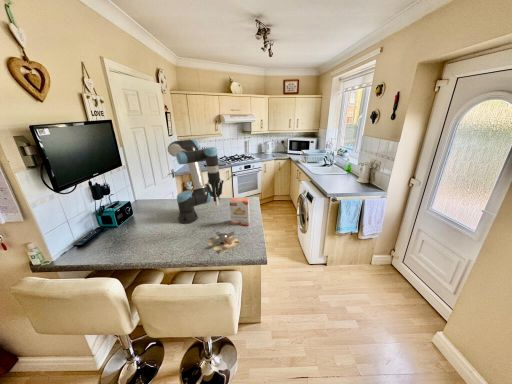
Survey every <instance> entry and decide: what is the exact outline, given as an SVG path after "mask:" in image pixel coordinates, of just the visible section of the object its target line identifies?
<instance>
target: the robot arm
mask: <svg viewBox="0 0 512 384" xmlns="http://www.w3.org/2000/svg"><path fill="white" fill-rule="evenodd" d="M167 152H168V153H169V155H170V156H172V157H175V158H176V162H177V164H178V165H186V164H187V165H188V167H189V168H188V169H189V172H190V176H191V180H192V185H193V189H192V191H191V190H184V191H182V192H179V193H178V194H177V195H176V201H177V206H178V212H179V213H178V217H177V218H178V222H179V223H180V224H182V225H185V224H186V225H187V224H191V223H194V222H196V221H197V220H198V219H199V218H198V217H199V216H198V213H197V212H196V210H195V207H196V206H197V207H198V206H201V205H204V204H208V203H210V202H211V201H212V198H213V201H214V205H215V206H216V207H218V206H220V200H221V199H220V197H221V195H222V193H223V184H224V183H225V181H224V180H222V179H221V177H220V172H219V171H220V168H219V159H218V158H219V157H218V151H217V148H216V147H215V146H210V147H209V146H208V147H205V148H201V147H200V145H199V142H198V141H197V140H196V139H193V138H192V139H183V140H182V139H181V140H175V141H172V142H171V143H169V144H168V146H167ZM201 162H205V164H206V165H205V166H206V172H207V178H208V180H207V183H205V182H204V181H205V180H204V178H203V174H202V169H201V166H200V163H201Z"/></svg>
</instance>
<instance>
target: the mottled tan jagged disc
mask: <svg viewBox="0 0 512 384" xmlns="http://www.w3.org/2000/svg"><path fill="white" fill-rule="evenodd" d="M225 233H226V234H229V233H230V232H225ZM218 238H220V237H219V236H217V237H215V238H212V239H210V240H209V241H208V240H207V241H206V244H208V245H209V246H210V248H212V249H213V250H214V251H215V252H216V253H217V254H219V255H222V254H224V253H225V252H227V251H229V250H231V249H233V248H235V247H238V245H241V244H242V242H241V241H240V240H239V239H237V238H236V237H235V236H234V235H233V236H231V237H229V238H228V239H229V240H230V241H231V242H232V244H231V245H229V244H221V243H220V242H219V243H216V244H214V245H213V244H212V241H213V240H216V239H218Z"/></svg>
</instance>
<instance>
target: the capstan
mask: <svg viewBox="0 0 512 384" xmlns="http://www.w3.org/2000/svg"><path fill="white" fill-rule="evenodd" d="M215 233H216V234H215V235H216V236H217V237H220V238H218V239H216V240H213V241H212V244H213V245H214V244H216V243H219V242H220V243H221V244H229V245H231V244H232V242H231V241H230V240H229V239H228V238H229V237H231V236H233V237H234V235H235V232H234V231H231V232H228V233H229V234H226V233H227V232H222V233H221V232H220V231H216V232H215Z"/></svg>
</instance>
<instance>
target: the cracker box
mask: <svg viewBox="0 0 512 384" xmlns="http://www.w3.org/2000/svg"><path fill="white" fill-rule="evenodd" d="M229 213H230V224H231V225H239V226H243V227H244V226H247V227H249V226H250V221H251V220H250V219H251V217H250V214H251V213H250V198H240V197H239V198H235V197H234V198H233V197H230V199H229Z"/></svg>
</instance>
